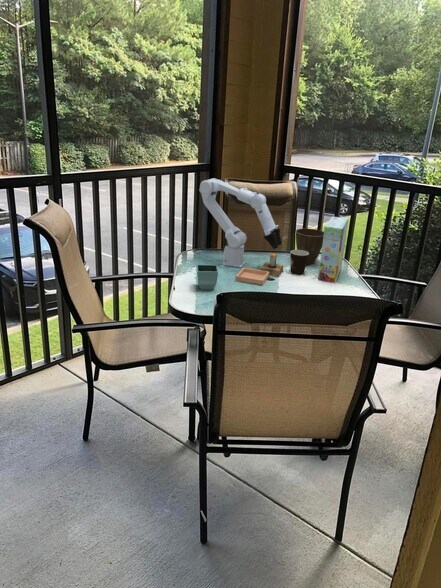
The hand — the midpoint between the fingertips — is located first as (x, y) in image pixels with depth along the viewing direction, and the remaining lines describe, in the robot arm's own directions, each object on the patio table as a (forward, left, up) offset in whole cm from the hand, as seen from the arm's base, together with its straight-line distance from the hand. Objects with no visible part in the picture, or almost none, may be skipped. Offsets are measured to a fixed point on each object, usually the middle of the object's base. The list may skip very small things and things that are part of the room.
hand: (277, 246), depth 213 cm
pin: (-2, -1, -13) cm, 13 cm away
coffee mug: (+9, +6, -13) cm, 17 cm away
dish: (-8, -13, -13) cm, 20 cm away
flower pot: (-23, -33, -13) cm, 42 cm away
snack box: (+24, +9, -13) cm, 29 cm away
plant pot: (+11, +22, -13) cm, 28 cm away
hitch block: (-2, -1, -13) cm, 13 cm away
